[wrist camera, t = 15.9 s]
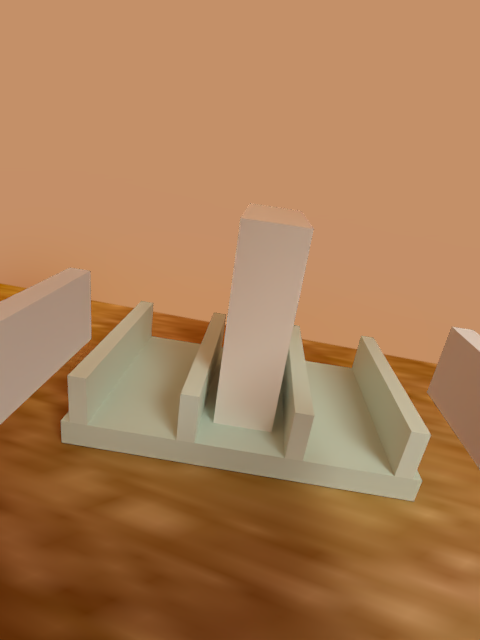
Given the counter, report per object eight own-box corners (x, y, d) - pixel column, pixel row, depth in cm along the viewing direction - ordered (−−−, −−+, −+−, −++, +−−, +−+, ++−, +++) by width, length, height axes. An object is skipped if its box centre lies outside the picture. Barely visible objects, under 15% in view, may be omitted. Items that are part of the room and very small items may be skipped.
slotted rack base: (365, 386, 32) (379, 338, 30) (413, 501, 21) (441, 436, 19) (133, 349, 33) (135, 300, 31) (61, 442, 22) (58, 374, 20)
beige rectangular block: (271, 367, 30) (301, 211, 25) (271, 432, 23) (313, 228, 18) (227, 360, 30) (250, 203, 26) (213, 422, 23) (240, 217, 18)
